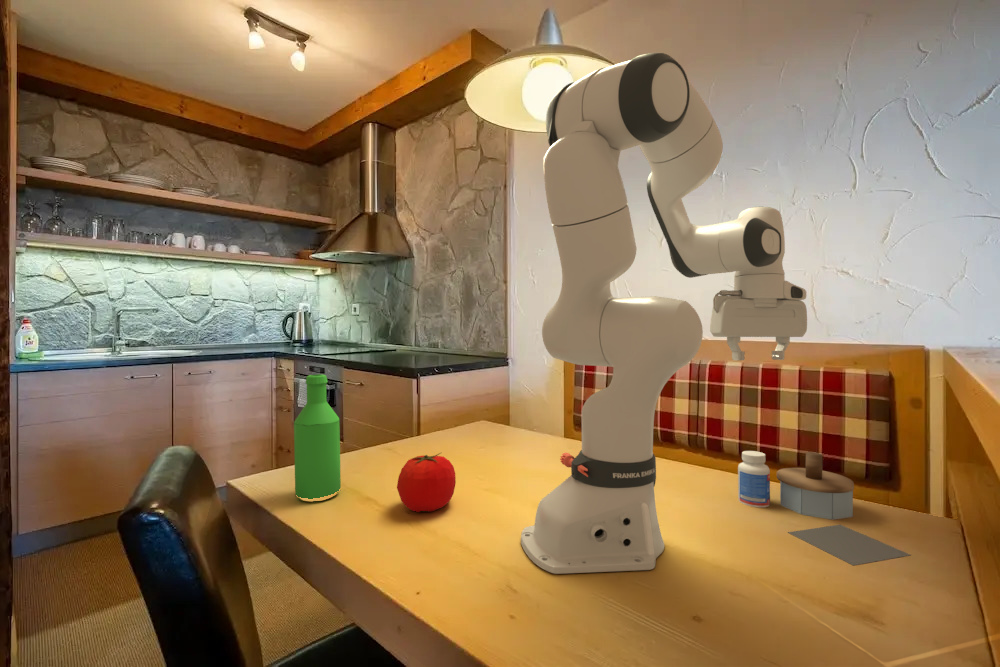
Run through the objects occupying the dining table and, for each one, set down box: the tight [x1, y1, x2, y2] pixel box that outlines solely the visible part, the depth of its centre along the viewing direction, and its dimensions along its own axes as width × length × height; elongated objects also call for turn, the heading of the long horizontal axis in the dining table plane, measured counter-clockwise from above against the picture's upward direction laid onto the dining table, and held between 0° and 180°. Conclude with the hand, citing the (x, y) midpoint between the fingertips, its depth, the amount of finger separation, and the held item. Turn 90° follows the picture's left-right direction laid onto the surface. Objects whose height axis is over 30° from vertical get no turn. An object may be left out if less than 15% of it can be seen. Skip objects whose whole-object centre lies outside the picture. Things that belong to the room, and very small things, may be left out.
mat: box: [787, 524, 912, 566], centre depth 73 cm, size 11×11×1 cm
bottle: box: [293, 373, 342, 499], centre depth 97 cm, size 9×9×25 cm
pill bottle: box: [737, 450, 771, 508], centre depth 91 cm, size 6×5×10 cm
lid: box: [776, 451, 855, 493], centre depth 88 cm, size 12×12×5 cm
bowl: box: [779, 480, 854, 521], centre depth 88 cm, size 11×11×5 cm
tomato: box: [396, 452, 456, 513], centre depth 91 cm, size 11×13×10 cm
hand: (758, 360), depth 94 cm, fingers open, 8 cm apart
